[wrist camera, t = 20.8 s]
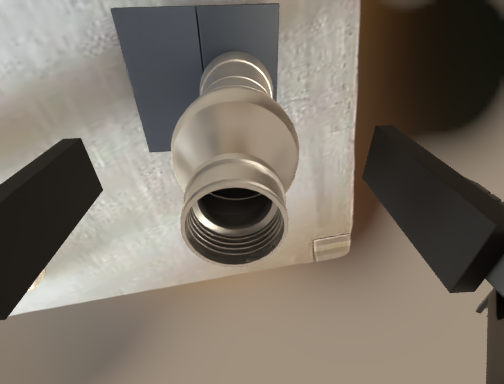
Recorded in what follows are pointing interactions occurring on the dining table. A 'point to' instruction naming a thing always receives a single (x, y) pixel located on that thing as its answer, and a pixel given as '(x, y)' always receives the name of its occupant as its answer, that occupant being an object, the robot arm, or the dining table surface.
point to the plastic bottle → (234, 164)
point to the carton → (240, 33)
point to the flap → (160, 65)
